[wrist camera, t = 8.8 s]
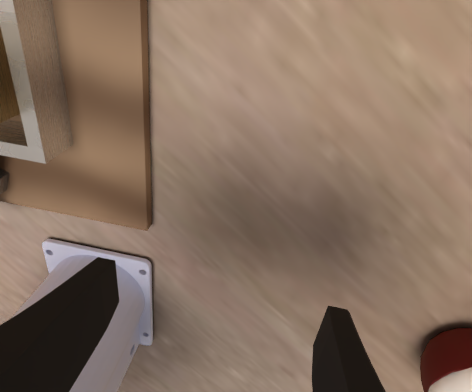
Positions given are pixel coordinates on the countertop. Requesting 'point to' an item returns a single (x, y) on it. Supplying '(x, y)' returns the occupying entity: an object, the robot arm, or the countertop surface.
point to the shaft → (3, 180)
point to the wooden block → (6, 87)
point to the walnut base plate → (97, 119)
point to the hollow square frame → (34, 82)
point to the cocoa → (448, 362)
